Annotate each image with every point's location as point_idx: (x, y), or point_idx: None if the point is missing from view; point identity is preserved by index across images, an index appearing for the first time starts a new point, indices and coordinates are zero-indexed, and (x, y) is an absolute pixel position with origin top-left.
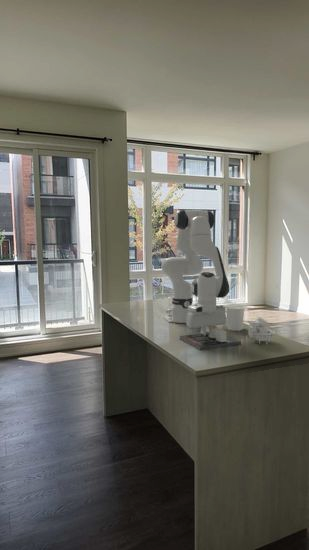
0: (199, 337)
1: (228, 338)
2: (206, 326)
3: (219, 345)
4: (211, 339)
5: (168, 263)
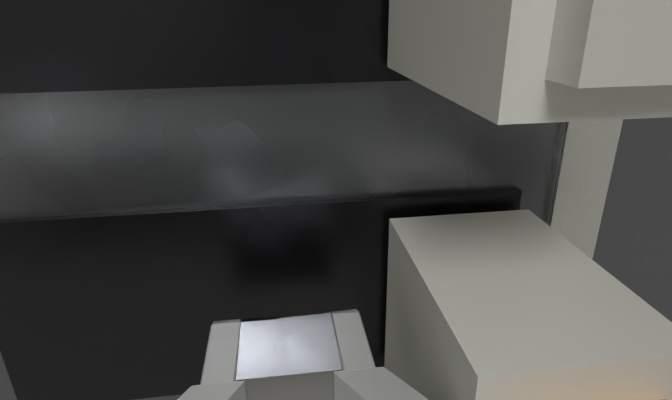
0: (178, 144)
1: None
2: (562, 110)
3: None
4: None
5: None
